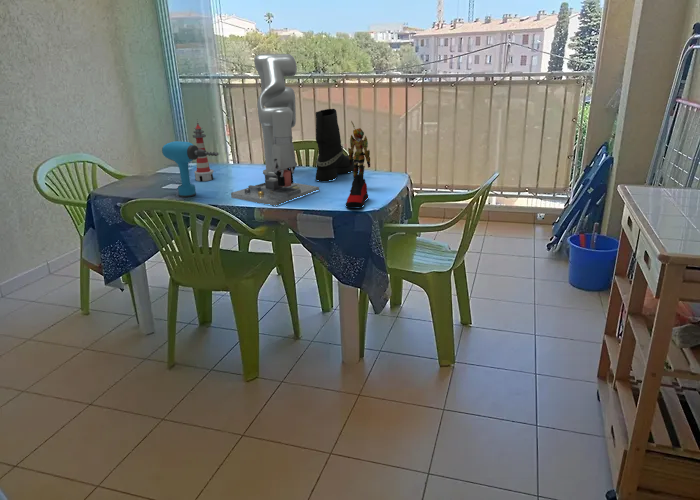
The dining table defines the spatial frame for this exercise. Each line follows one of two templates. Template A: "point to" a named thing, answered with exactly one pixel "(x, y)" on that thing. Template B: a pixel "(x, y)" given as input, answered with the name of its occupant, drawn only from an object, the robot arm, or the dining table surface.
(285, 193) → the panel
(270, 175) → the dark grey cube
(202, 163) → the miniature lighthouse
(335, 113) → the boot
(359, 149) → the figurine
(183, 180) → the power drill
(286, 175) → the lockout cap
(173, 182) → the dining table surface
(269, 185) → the grey cube
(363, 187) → the athletic shoe
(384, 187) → the dining table surface
